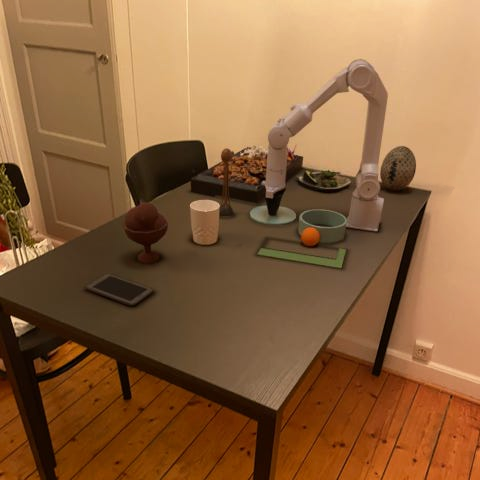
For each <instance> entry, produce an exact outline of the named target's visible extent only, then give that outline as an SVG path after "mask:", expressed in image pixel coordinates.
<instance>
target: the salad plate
mask: <svg viewBox="0 0 480 480" xmlns="http://www.w3.org/2000/svg"><path fill="white" fill-rule="evenodd" d="M339 175H341V172H340V171H335V170H334V169H332V170H330V169H328V170H326V169H325V170H321V171H313V172H310V170H305V171H304V172H303V174H297V175H296V174H295V176H294V177H295V178H297V179H298V181H299V184H300V185H301V186H302V187H304V188H307V189H308V190H312V191H315V192H319V193H325V194H326V193H334V192H337V191H340V190H342V189H344V188H346V187H347V186H348V185H350V184H351V179H349V178H347V177H342V176H339Z"/></svg>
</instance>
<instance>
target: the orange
mask: <svg viewBox="0 0 480 480" xmlns="http://www.w3.org/2000/svg"><path fill="white" fill-rule="evenodd" d="M319 238H320V235H319V232H318V231H317V230H316V229H315V228H306V229H305V230H304V231H303V232H302V234H301V235H300V241H301V242H302V244H303V245H305V246H306V247H314V246H316V245H317V244H318V243H319V242H318V241H319Z"/></svg>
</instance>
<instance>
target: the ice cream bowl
mask: <svg viewBox="0 0 480 480" xmlns="http://www.w3.org/2000/svg"><path fill="white" fill-rule="evenodd" d="M122 226H123V229H124V232H125V235H126V237H127V238H128V239H129V240H131V241H132V242H134V243H136V244H138V245H140V246H143V249H144V251H142V252H141V253H139V254H138V255H137V260H138V262H141V263H143V264H152V263H155V262H157V261H158V260H159V259H160V255H159V253H158V252H155V251H153V250H152V245H155V244H156V243H158V242H160V240H161V239H162V238H163V237H164V236H165V235H166V233H167V231H168V228H169V223H168V220H167V218H165V216H164V215H163V214H161V213H159V211H158V208H157V207H156V206H155V205H154V204H153V203H151V202H145V201H143V202H141V203H139V204H138V205H137V206H133V207H132V208H130V209H129V210H128V211H126V213H125V216H124V221H122Z"/></svg>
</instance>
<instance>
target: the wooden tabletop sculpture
mask: <svg viewBox="0 0 480 480" xmlns="http://www.w3.org/2000/svg"><path fill="white" fill-rule="evenodd" d="M234 154H235V151H233V150H231V149H230V148H228V147H227V148H224V149H222V151H221V153H220V160H221V162H222V161H223V162H225V165H224V175H223V195H222V196H221V203H220V210H219V217H232V216H233V215H234V210H233V207H232V206H231V201H230V198H229V165H228V162H229V161H230V160H231V157H232V155H234ZM224 184H225V197H224ZM227 189H228V198H227ZM223 201H224V202H223Z"/></svg>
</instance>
